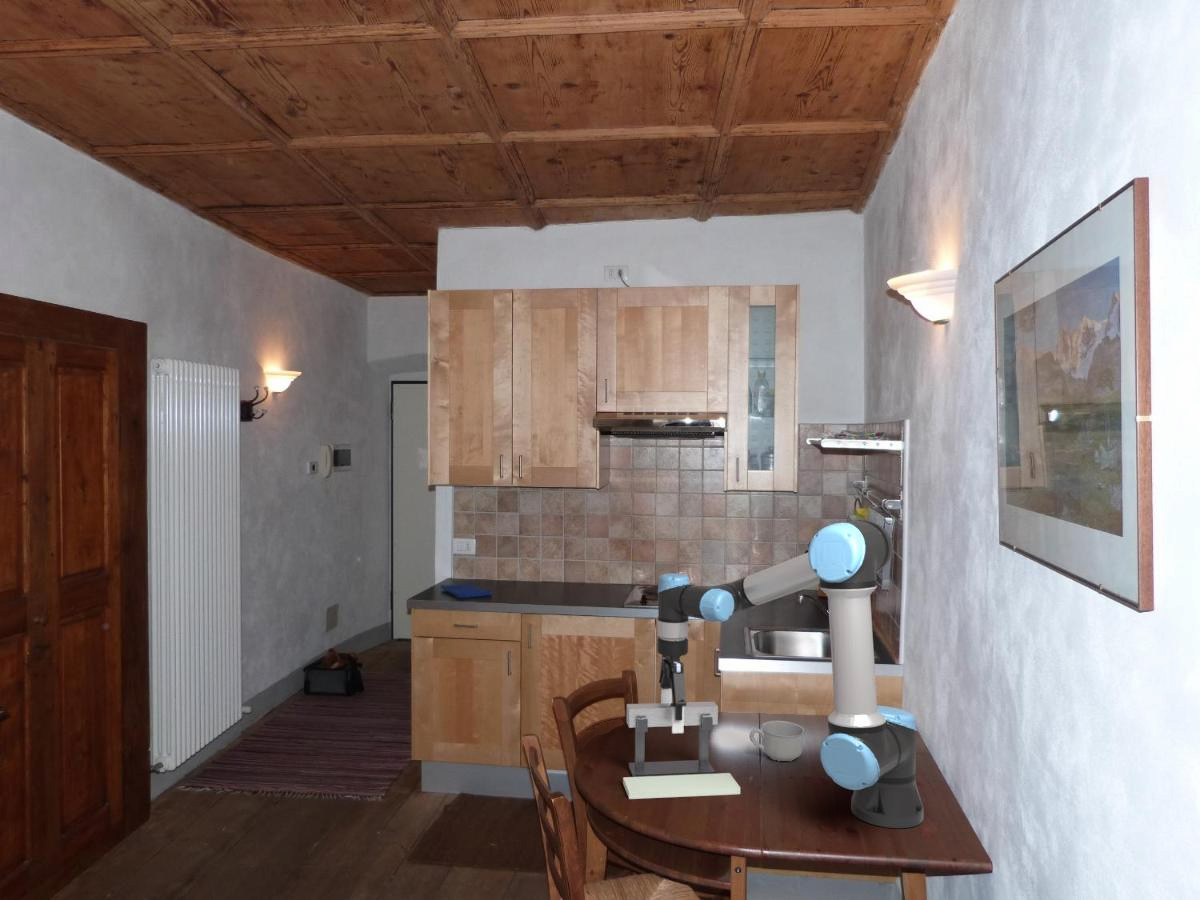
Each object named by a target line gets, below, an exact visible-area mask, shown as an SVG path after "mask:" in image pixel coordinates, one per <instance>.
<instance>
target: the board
mask: <svg viewBox="0 0 1200 900" xmlns="http://www.w3.org/2000/svg"><path fill="white" fill-rule="evenodd" d="M622 784H623V787H624V789H625V792H626V795H627V796H628V800H638V799H640V800H641V799H657V798H659V799H660V798H679V797H680V798H681V797H684V798H685V797H686V798H687V797H702V796H703V797H705V796H706V797H707V796H709V797H710V796H729V795H730V796H731V795H741V786H740V785H739V784H738V782H737V781H736V780H735V778H734V776H733V775H732V774H731V773H730V772H721V773H715V774H695V775H670V776H646V777H633V776H629V777H628V776H627V777H625V776H624V777H622Z"/></svg>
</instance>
